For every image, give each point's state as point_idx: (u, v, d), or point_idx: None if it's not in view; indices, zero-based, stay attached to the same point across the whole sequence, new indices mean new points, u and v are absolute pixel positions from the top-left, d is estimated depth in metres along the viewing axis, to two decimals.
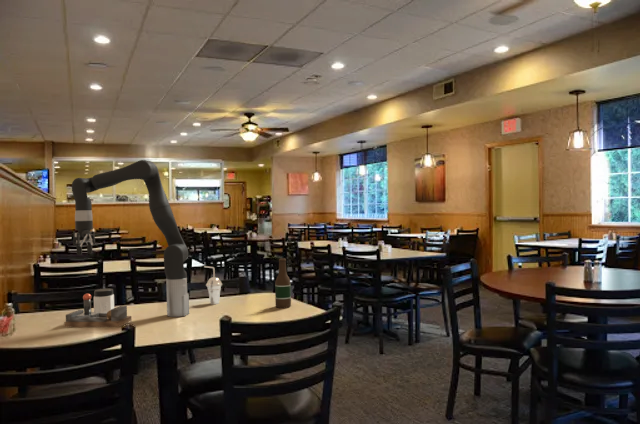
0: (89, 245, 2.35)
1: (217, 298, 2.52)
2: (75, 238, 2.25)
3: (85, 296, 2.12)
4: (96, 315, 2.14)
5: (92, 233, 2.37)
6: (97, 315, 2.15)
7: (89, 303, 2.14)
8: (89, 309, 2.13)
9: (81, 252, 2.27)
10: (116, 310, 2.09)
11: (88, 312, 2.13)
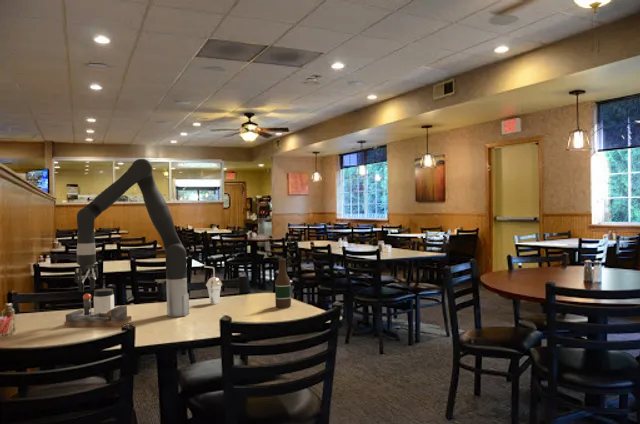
0: (92, 280, 2.18)
1: (217, 298, 2.52)
2: (77, 274, 2.07)
3: (85, 296, 2.12)
4: (96, 315, 2.14)
5: (95, 267, 2.19)
6: (97, 315, 2.15)
7: (89, 303, 2.14)
8: (89, 309, 2.13)
9: (83, 289, 2.09)
10: (116, 310, 2.09)
11: (88, 312, 2.13)
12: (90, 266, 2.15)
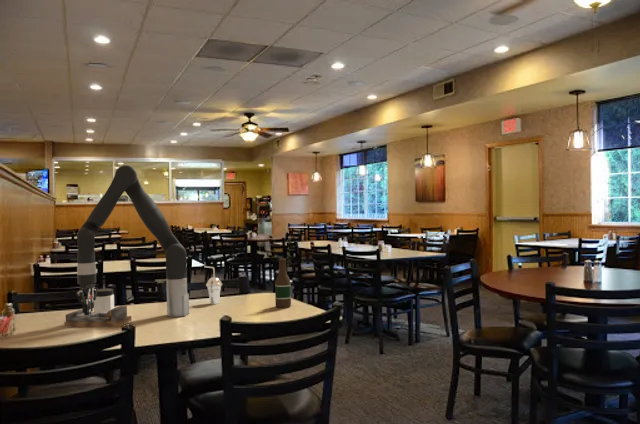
0: None
1: (217, 298, 2.52)
2: (79, 297, 2.08)
3: (85, 296, 2.12)
4: (96, 315, 2.14)
5: (95, 288, 2.19)
6: (97, 315, 2.15)
7: (89, 303, 2.14)
8: (89, 309, 2.13)
9: (87, 310, 2.12)
10: (116, 310, 2.09)
11: (88, 312, 2.13)
12: (90, 285, 2.15)
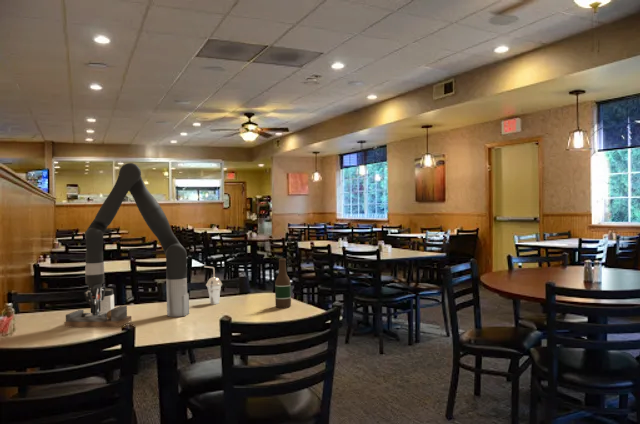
0: None
1: (217, 298, 2.52)
2: (87, 297, 2.08)
3: (93, 296, 2.12)
4: (104, 315, 2.13)
5: (103, 288, 2.19)
6: (105, 315, 2.14)
7: (98, 303, 2.13)
8: (97, 309, 2.13)
9: (95, 310, 2.12)
10: (116, 310, 2.09)
11: (96, 312, 2.13)
12: (99, 285, 2.15)
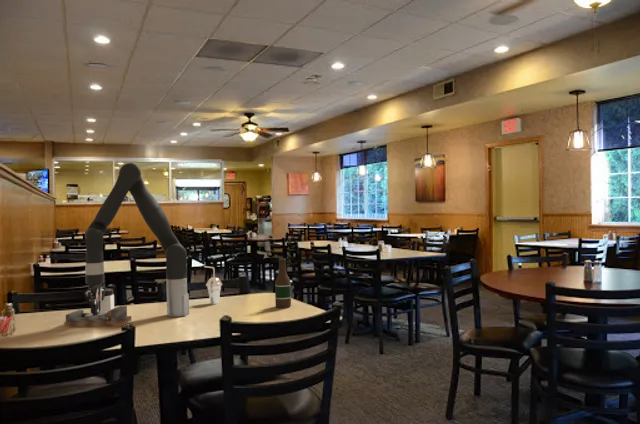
0: None
1: (217, 298, 2.52)
2: (87, 297, 2.08)
3: (93, 296, 2.12)
4: (104, 315, 2.13)
5: (103, 288, 2.19)
6: (105, 315, 2.14)
7: (98, 303, 2.13)
8: (97, 309, 2.13)
9: (95, 310, 2.12)
10: (116, 310, 2.09)
11: (96, 312, 2.13)
12: (99, 285, 2.15)
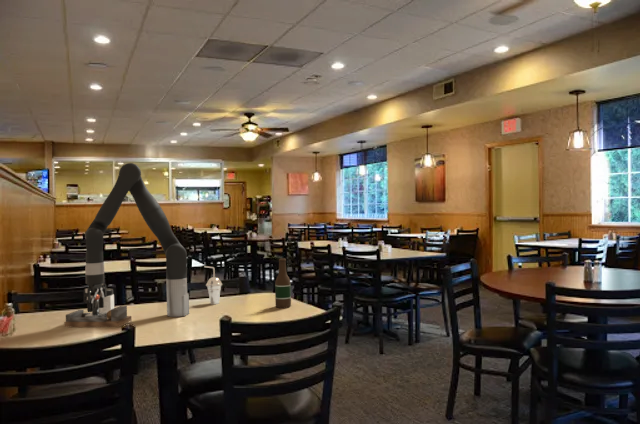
0: (100, 299, 2.18)
1: (217, 298, 2.52)
2: (86, 294, 2.07)
3: None
4: (104, 315, 2.13)
5: (103, 286, 2.19)
6: (105, 315, 2.14)
7: (98, 303, 2.13)
8: (97, 309, 2.13)
9: (92, 309, 2.09)
10: (116, 310, 2.09)
11: (96, 312, 2.13)
12: (99, 285, 2.15)
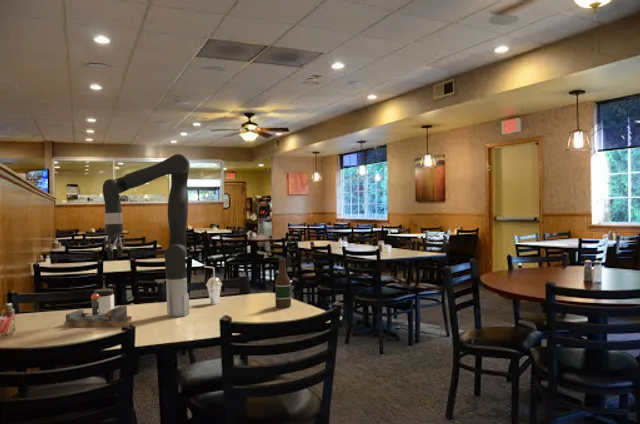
0: (119, 249, 2.27)
1: (217, 298, 2.52)
2: (106, 242, 2.16)
3: (93, 296, 2.12)
4: (104, 315, 2.13)
5: (122, 236, 2.28)
6: (105, 315, 2.14)
7: (98, 303, 2.13)
8: (97, 309, 2.13)
9: (112, 256, 2.18)
10: (116, 310, 2.09)
11: (96, 312, 2.13)
12: (117, 235, 2.24)
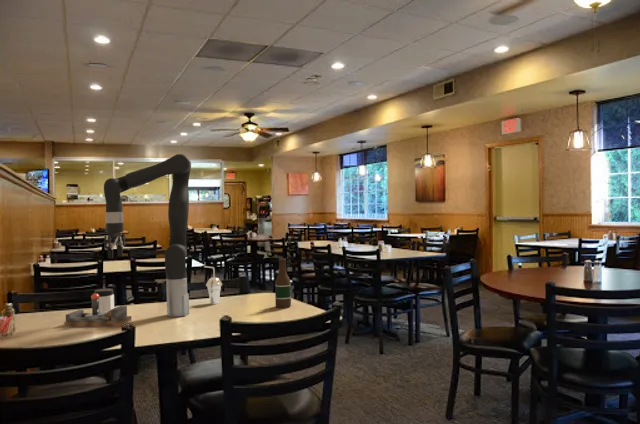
0: (119, 248, 2.27)
1: (217, 298, 2.52)
2: (106, 241, 2.16)
3: (93, 296, 2.12)
4: (104, 315, 2.13)
5: (122, 235, 2.28)
6: (105, 315, 2.14)
7: (98, 303, 2.13)
8: (97, 309, 2.13)
9: (112, 255, 2.19)
10: (116, 310, 2.09)
11: (96, 312, 2.13)
12: (118, 234, 2.24)
